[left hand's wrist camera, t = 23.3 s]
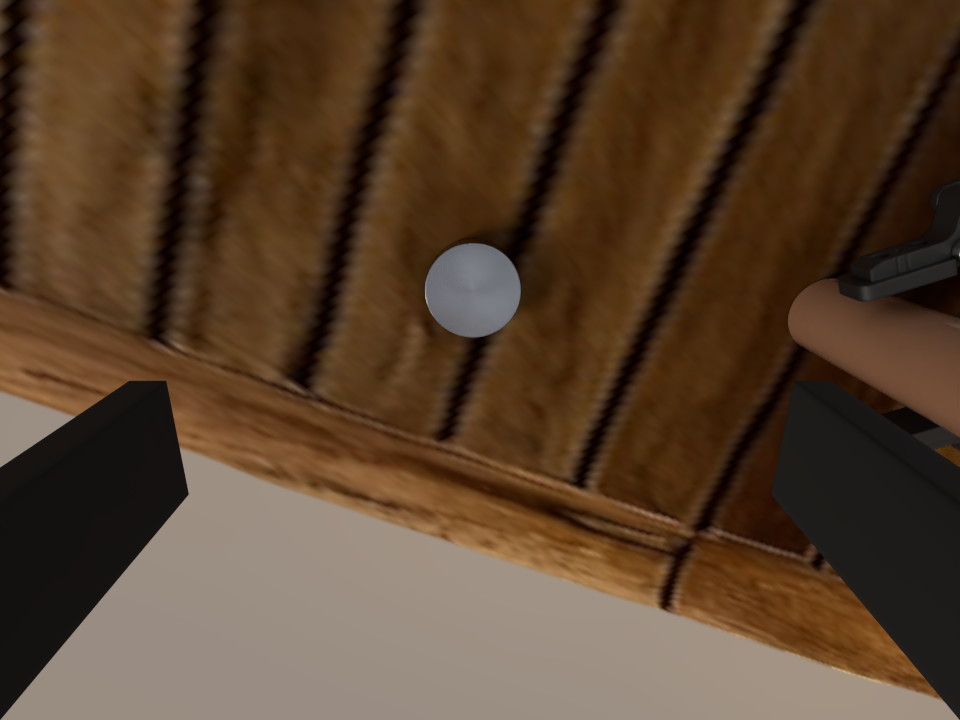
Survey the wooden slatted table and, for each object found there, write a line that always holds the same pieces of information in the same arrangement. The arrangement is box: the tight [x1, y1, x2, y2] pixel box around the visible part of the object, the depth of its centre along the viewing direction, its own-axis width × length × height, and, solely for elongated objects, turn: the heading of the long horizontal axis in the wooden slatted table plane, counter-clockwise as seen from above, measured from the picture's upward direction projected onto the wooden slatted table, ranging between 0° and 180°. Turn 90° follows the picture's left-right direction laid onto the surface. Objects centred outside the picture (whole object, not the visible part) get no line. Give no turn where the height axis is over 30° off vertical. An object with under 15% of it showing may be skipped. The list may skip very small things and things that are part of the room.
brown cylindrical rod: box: [788, 278, 960, 438], centre depth 25 cm, size 4×4×16 cm
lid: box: [425, 238, 521, 337], centre depth 31 cm, size 5×5×2 cm
